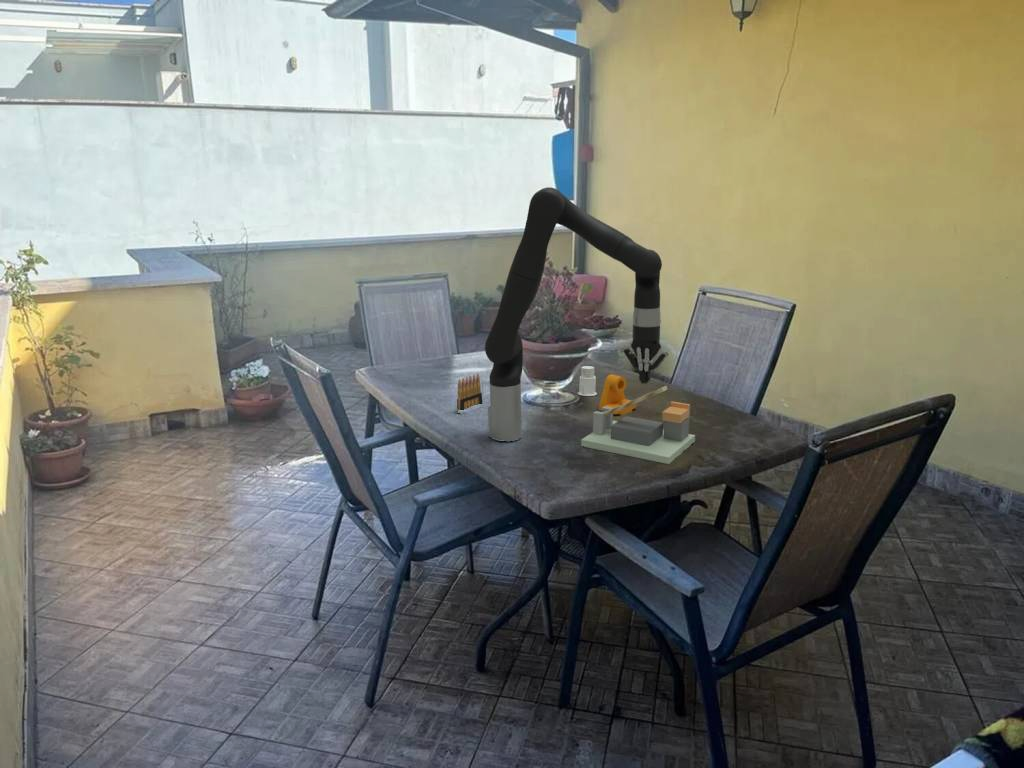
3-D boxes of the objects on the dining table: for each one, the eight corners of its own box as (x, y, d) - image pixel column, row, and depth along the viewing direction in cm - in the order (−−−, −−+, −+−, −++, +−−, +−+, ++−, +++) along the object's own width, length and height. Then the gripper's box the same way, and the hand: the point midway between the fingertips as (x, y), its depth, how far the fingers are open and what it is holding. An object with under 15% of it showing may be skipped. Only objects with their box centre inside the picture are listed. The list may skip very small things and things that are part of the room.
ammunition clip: (461, 414, 239) (459, 380, 236) (457, 413, 241) (455, 379, 237) (482, 406, 247) (481, 373, 244) (478, 405, 248) (477, 372, 245)
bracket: (615, 417, 233) (616, 381, 230) (599, 412, 239) (599, 377, 235) (637, 409, 240) (637, 375, 237) (620, 405, 245) (621, 371, 242)
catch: (662, 420, 205) (662, 407, 204) (671, 413, 210) (671, 401, 209) (680, 423, 202) (681, 410, 201) (689, 416, 207) (689, 404, 206)
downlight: (591, 398, 253) (592, 370, 251) (573, 395, 257) (574, 368, 254) (600, 393, 260) (601, 366, 258) (582, 390, 263) (583, 364, 261)
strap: (600, 419, 213) (597, 414, 213) (604, 416, 215) (602, 412, 215) (664, 392, 199) (661, 387, 199) (668, 389, 201) (665, 384, 201)
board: (581, 446, 209) (581, 418, 206) (611, 426, 225) (612, 400, 222) (668, 464, 194) (670, 434, 192) (694, 441, 210) (696, 414, 208)
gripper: (618, 323, 199) (617, 383, 204) (663, 327, 192) (661, 389, 197) (630, 318, 205) (629, 376, 210) (674, 322, 198) (671, 382, 203)
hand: (644, 382), depth 203 cm, fingers closed
